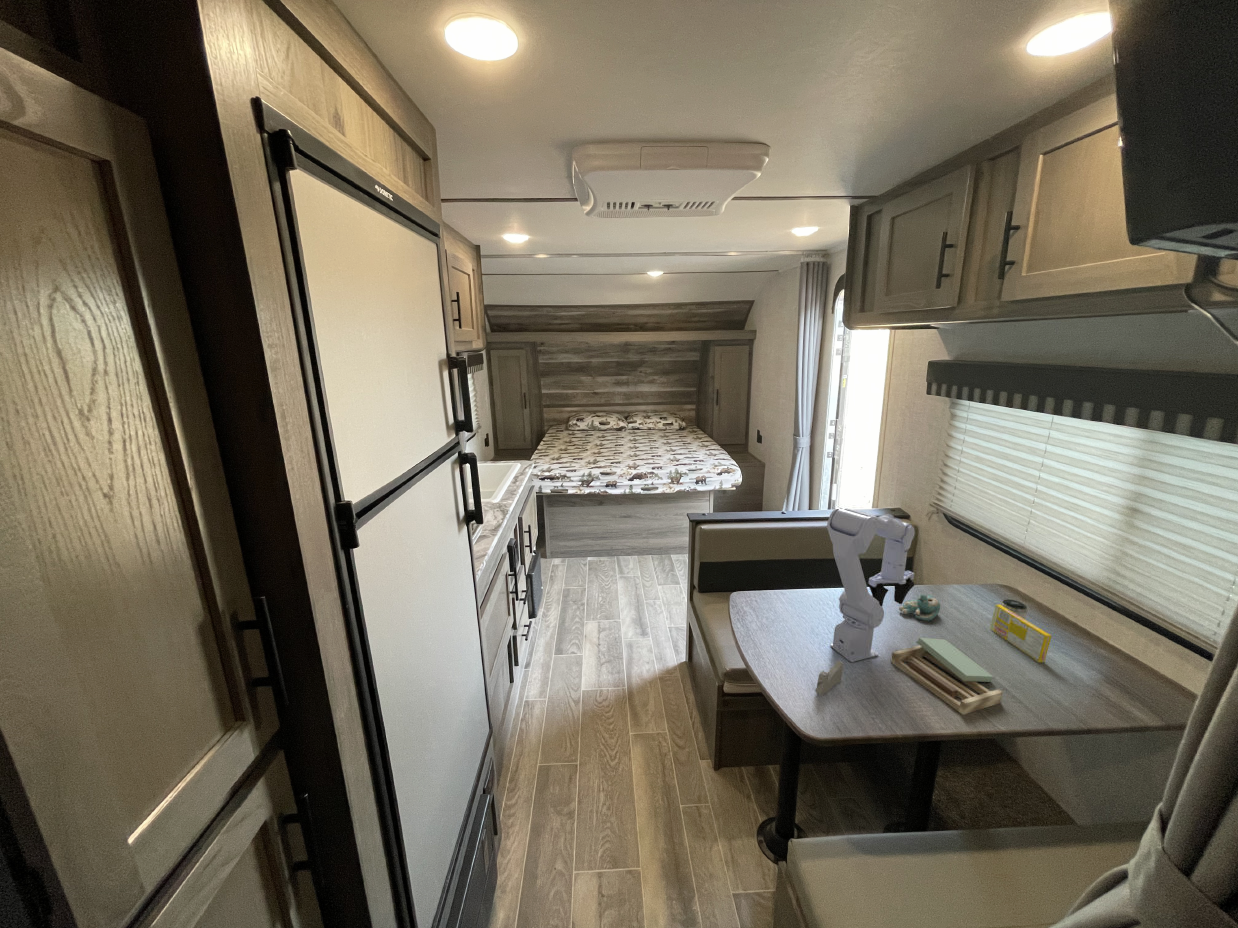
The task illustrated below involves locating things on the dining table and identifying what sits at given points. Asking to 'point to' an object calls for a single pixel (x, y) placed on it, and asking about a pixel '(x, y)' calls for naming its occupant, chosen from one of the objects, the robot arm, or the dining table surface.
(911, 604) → the stuffed animal
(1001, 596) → the dining table surface
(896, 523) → the robot arm
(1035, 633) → the candy box
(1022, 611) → the dark lidded jar
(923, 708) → the dining table surface
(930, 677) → the offcut stack
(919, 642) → the large sage green box
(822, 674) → the beige angular flat piece
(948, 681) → the offcut rack
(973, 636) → the dining table surface
